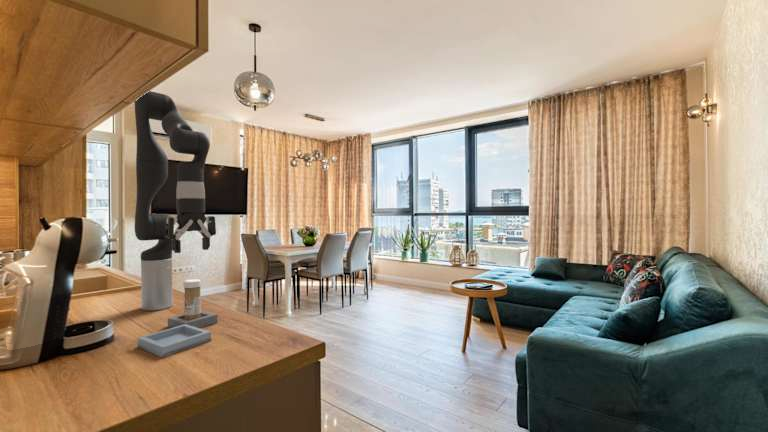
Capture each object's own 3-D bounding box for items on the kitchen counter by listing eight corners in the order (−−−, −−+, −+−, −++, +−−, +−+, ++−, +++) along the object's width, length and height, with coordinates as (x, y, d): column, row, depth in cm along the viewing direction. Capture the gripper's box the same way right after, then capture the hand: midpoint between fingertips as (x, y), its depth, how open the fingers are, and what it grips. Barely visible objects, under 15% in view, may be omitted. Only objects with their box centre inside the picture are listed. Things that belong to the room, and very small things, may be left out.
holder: (167, 326, 103) (167, 317, 103) (199, 317, 111) (199, 309, 111) (185, 332, 98) (185, 323, 98) (217, 322, 106) (217, 314, 106)
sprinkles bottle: (180, 325, 103) (179, 281, 103) (193, 321, 107) (193, 278, 107) (192, 327, 102) (191, 282, 101) (205, 322, 106) (204, 279, 106)
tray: (137, 347, 87) (137, 337, 87) (185, 332, 98) (185, 324, 98) (162, 357, 81) (162, 347, 81) (210, 340, 91) (210, 331, 91)
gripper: (206, 198, 112) (207, 248, 112) (159, 197, 100) (160, 253, 100) (220, 197, 108) (221, 249, 108) (173, 196, 96) (174, 254, 96)
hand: (191, 251), depth 104 cm, fingers open, 8 cm apart
